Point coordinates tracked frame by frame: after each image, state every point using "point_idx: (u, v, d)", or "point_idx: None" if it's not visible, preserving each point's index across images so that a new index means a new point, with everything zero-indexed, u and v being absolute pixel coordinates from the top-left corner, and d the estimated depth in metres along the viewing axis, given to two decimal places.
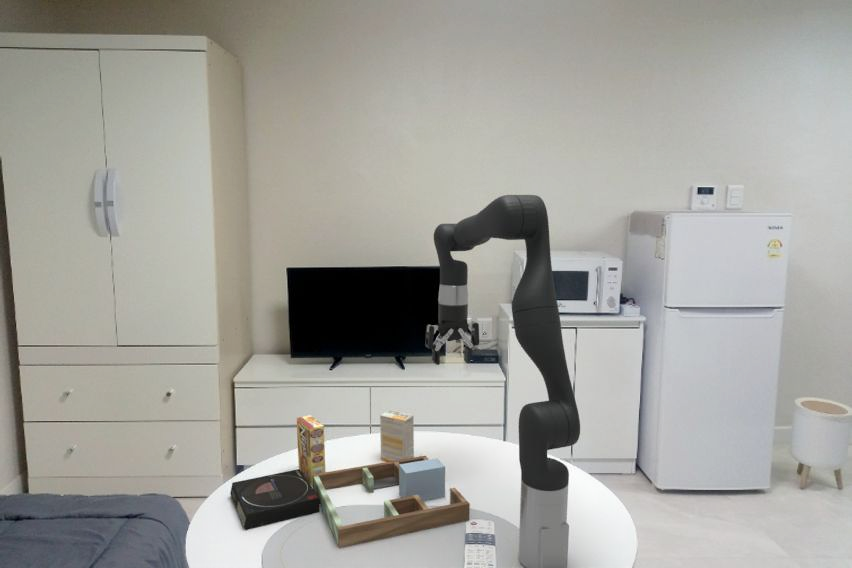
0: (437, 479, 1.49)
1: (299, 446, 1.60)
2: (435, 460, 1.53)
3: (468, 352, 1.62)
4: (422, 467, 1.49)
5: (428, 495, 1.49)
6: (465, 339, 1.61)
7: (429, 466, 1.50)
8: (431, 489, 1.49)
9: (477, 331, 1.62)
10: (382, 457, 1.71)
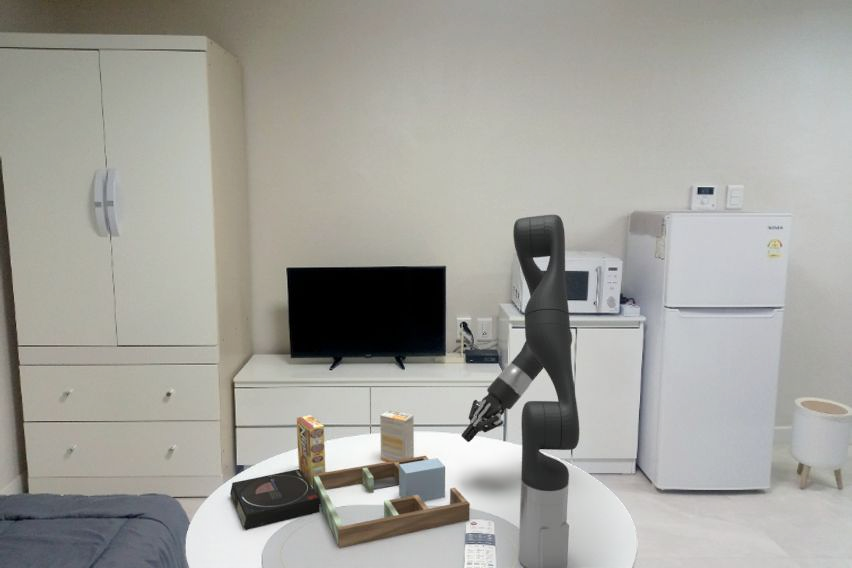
0: (437, 479, 1.49)
1: (299, 446, 1.60)
2: (435, 460, 1.53)
3: (469, 428, 1.53)
4: (422, 467, 1.49)
5: (428, 495, 1.49)
6: (480, 414, 1.53)
7: (429, 466, 1.50)
8: (431, 489, 1.49)
9: (490, 420, 1.50)
10: (382, 457, 1.71)
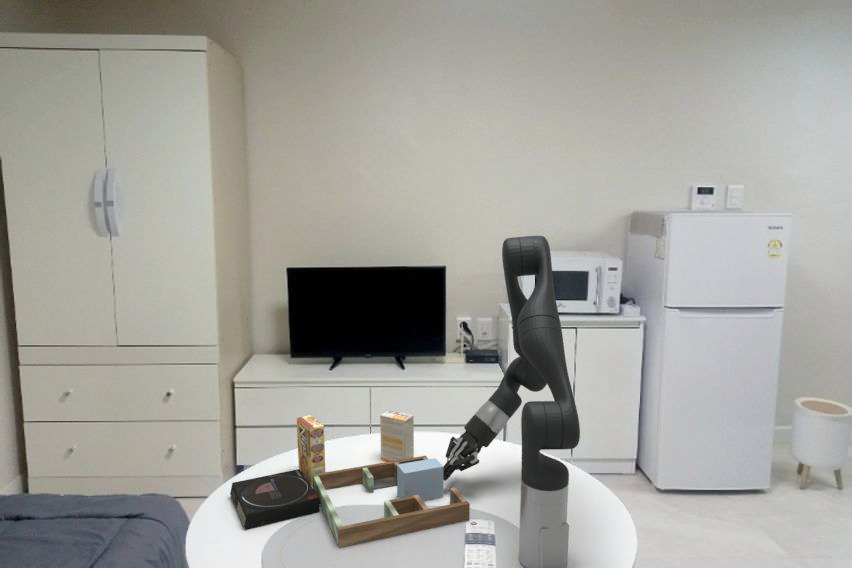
0: (435, 479, 1.49)
1: (299, 446, 1.60)
2: (433, 460, 1.53)
3: (446, 467, 1.52)
4: (420, 467, 1.49)
5: (426, 495, 1.49)
6: (457, 452, 1.52)
7: (428, 466, 1.49)
8: (429, 489, 1.49)
9: (466, 459, 1.49)
10: (382, 457, 1.71)
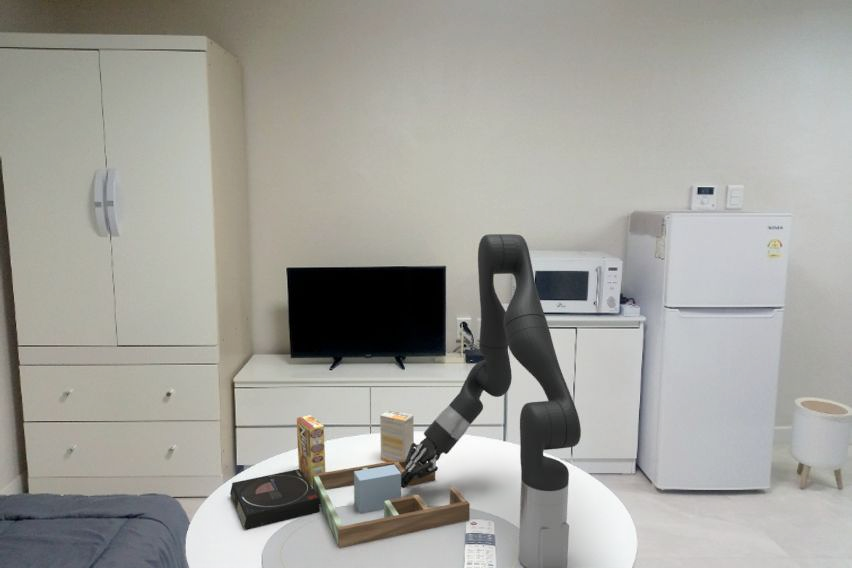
0: (392, 486, 1.45)
1: (299, 446, 1.60)
2: (392, 467, 1.49)
3: (404, 474, 1.49)
4: (377, 474, 1.45)
5: (383, 503, 1.45)
6: (415, 459, 1.48)
7: (385, 473, 1.46)
8: (386, 496, 1.45)
9: (424, 466, 1.45)
10: (382, 457, 1.71)
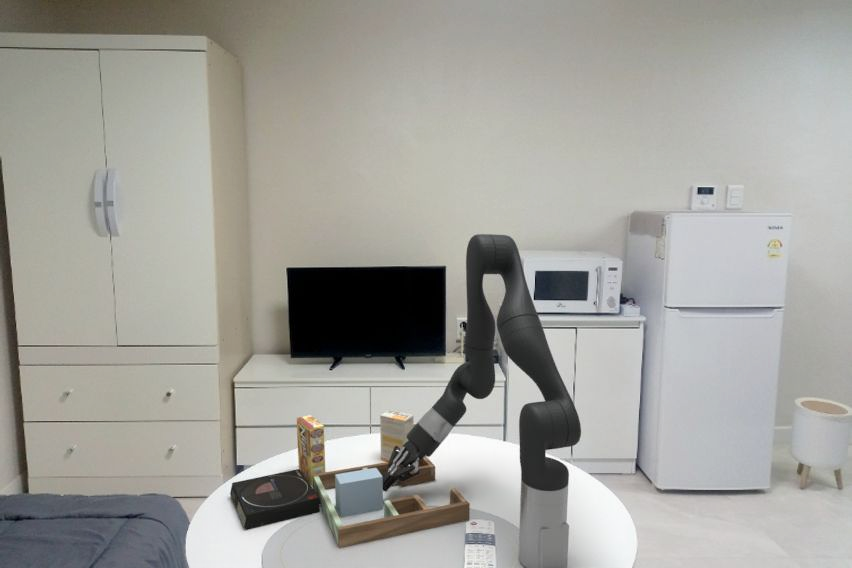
0: (374, 490, 1.44)
1: (299, 446, 1.60)
2: (373, 470, 1.47)
3: (386, 477, 1.47)
4: (358, 477, 1.44)
5: (365, 507, 1.44)
6: (398, 462, 1.47)
7: (366, 476, 1.44)
8: (367, 500, 1.44)
9: (406, 469, 1.44)
10: (382, 457, 1.71)
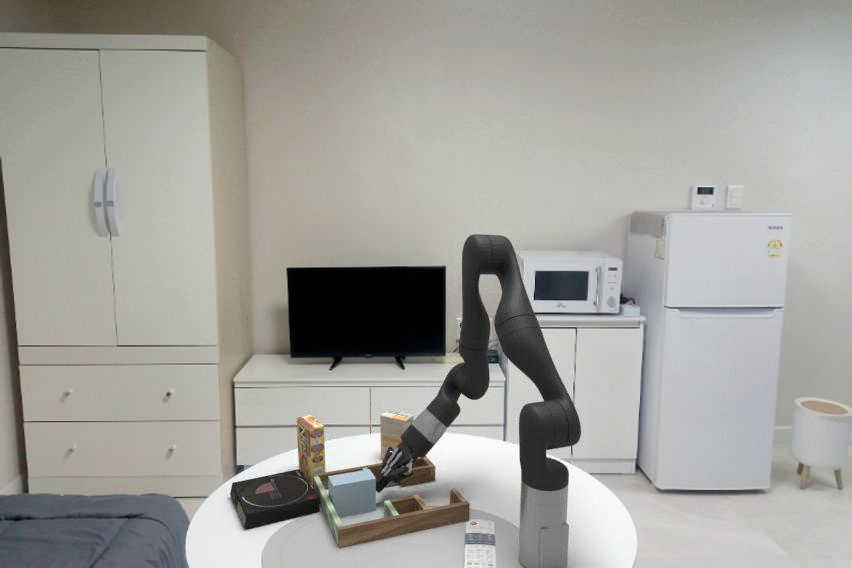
0: (367, 491, 1.43)
1: (299, 446, 1.60)
2: (367, 471, 1.47)
3: (380, 478, 1.46)
4: (351, 479, 1.43)
5: (358, 509, 1.43)
6: (391, 463, 1.46)
7: (359, 478, 1.43)
8: (360, 502, 1.43)
9: (399, 470, 1.43)
10: (382, 457, 1.71)
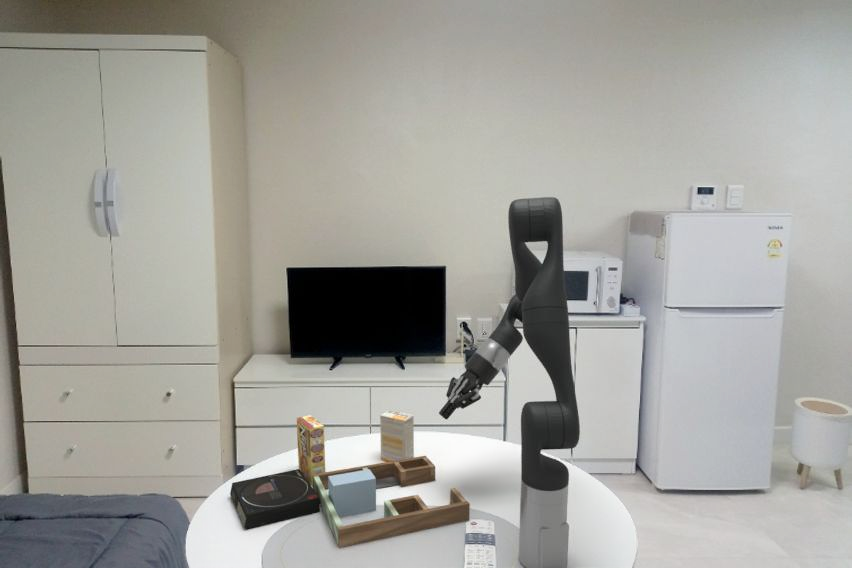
0: (367, 491, 1.43)
1: (299, 446, 1.60)
2: (367, 471, 1.47)
3: (447, 405, 1.49)
4: (351, 479, 1.43)
5: (358, 509, 1.43)
6: (458, 390, 1.49)
7: (359, 478, 1.43)
8: (360, 502, 1.43)
9: (467, 395, 1.46)
10: (382, 457, 1.71)
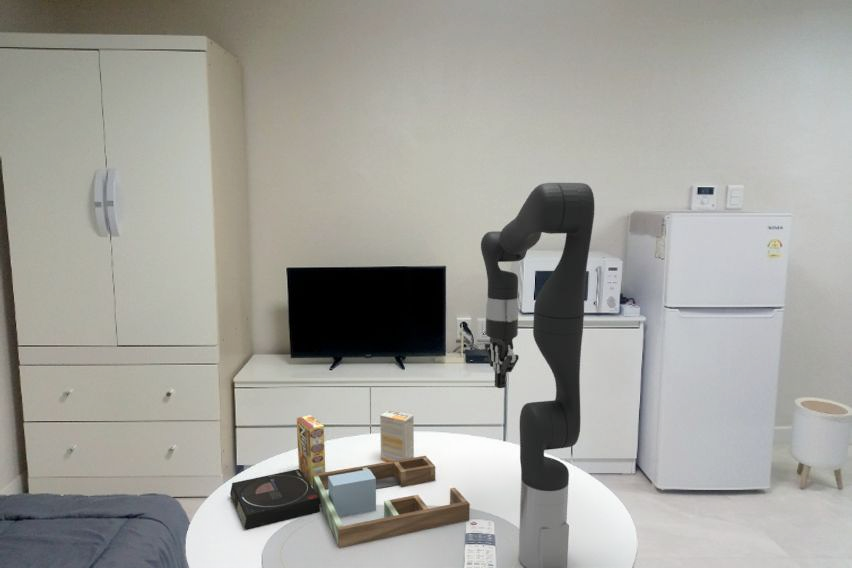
0: (367, 491, 1.43)
1: (299, 446, 1.60)
2: (367, 471, 1.47)
3: (497, 377, 1.48)
4: (351, 479, 1.43)
5: (358, 509, 1.43)
6: (496, 360, 1.47)
7: (359, 478, 1.43)
8: (360, 502, 1.43)
9: (506, 362, 1.43)
10: (382, 457, 1.71)
